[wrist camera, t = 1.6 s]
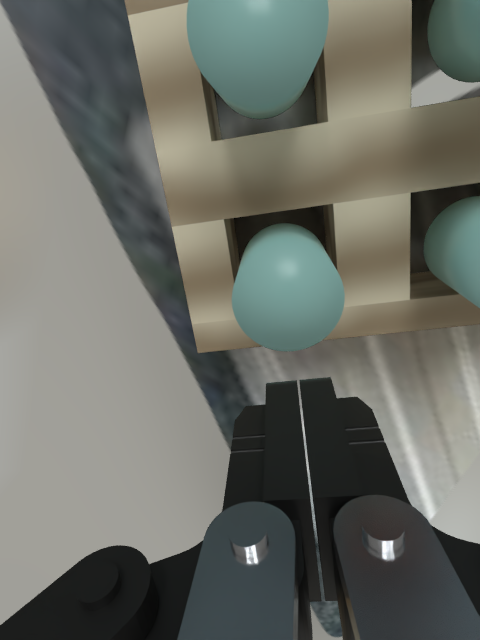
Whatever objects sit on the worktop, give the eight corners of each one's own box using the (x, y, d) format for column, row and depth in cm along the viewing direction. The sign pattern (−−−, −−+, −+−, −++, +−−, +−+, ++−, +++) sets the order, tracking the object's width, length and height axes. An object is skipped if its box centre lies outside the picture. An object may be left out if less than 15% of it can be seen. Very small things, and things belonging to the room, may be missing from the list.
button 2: (202, 12, 18) (173, -50, 13) (307, -9, 18) (323, -85, 12) (220, 126, 20) (200, 114, 15) (315, 110, 20) (333, 90, 14)
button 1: (235, 229, 22) (223, 253, 17) (323, 217, 22) (341, 237, 16) (247, 310, 24) (240, 356, 18) (329, 301, 23) (347, 345, 18)
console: (148, 2, 23) (113, -42, 18) (608, -98, 20) (721, -183, 15) (209, 323, 30) (196, 356, 25) (554, 284, 27) (618, 313, 22)
